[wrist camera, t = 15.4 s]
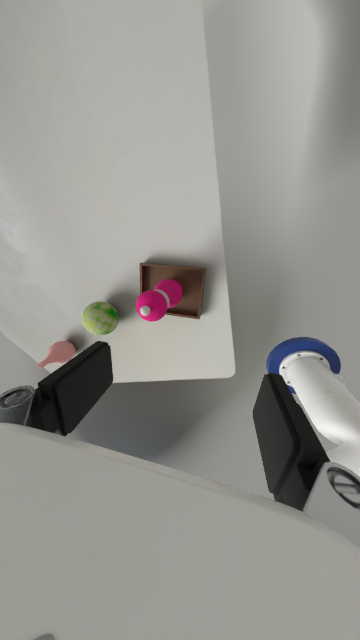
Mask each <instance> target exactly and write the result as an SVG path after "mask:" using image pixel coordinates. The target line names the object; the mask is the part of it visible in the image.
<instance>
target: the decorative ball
mask: <svg viewBox="0 0 360 640" xmlns="http://www.w3.org/2000/svg"><path fill="white" fill-rule="evenodd" d="M118 322H119V316H118V313H117V311H116V309H115V308H114V307H113V306H112V305H110V304H109V303H106V302H95V303H92V304H90V305H89V306H88V307H86V308H85V310H84V311H83V314H82V324H83V326H84V327H85V328H86V329H87V330H88V331H89V332H90V333H92V334H95V335H105V334H108V333H110V332H112V331H113V330H114V329H115V328H116V326H117V324H118Z"/></svg>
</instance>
